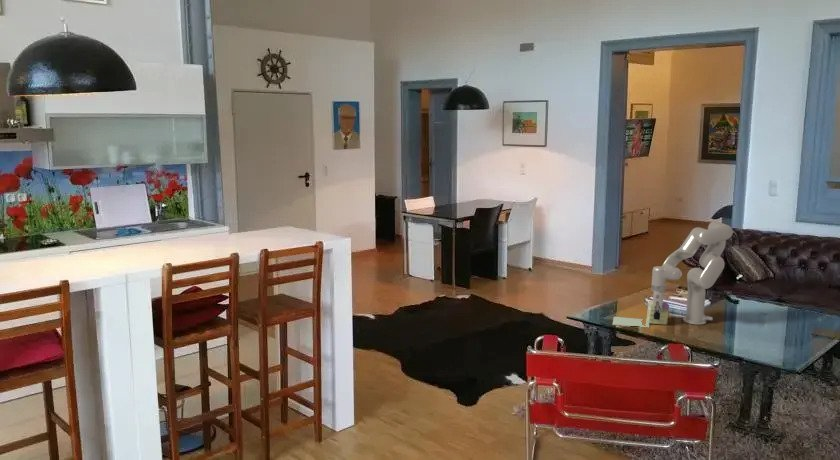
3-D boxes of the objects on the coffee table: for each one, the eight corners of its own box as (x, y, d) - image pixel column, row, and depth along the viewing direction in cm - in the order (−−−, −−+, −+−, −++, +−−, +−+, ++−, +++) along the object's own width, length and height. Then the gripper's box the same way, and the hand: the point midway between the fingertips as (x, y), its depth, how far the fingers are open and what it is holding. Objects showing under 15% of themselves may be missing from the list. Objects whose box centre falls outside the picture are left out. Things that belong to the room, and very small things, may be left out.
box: (664, 321, 390) (666, 302, 388) (666, 324, 385) (669, 305, 382) (646, 320, 391) (648, 300, 389) (648, 323, 386) (650, 303, 383)
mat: (649, 320, 393) (649, 319, 393) (649, 328, 380) (649, 327, 380) (613, 317, 399) (613, 316, 399) (612, 324, 386) (612, 323, 386)
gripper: (665, 292, 375) (663, 322, 378) (665, 284, 391) (663, 313, 394) (651, 291, 377) (649, 320, 381) (651, 283, 394) (649, 312, 397)
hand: (656, 316), depth 387 cm, fingers open, 8 cm apart
